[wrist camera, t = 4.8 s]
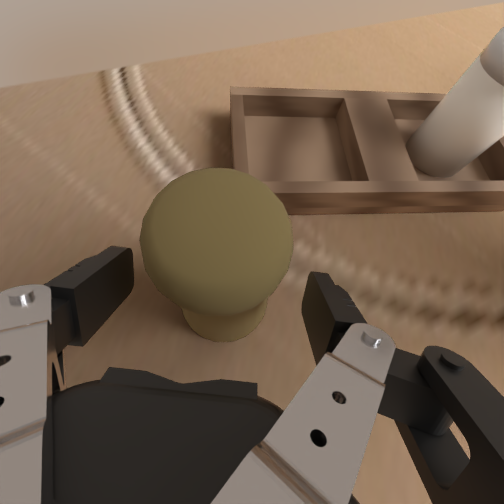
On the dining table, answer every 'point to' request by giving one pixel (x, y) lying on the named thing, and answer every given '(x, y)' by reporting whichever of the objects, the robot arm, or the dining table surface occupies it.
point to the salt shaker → (464, 117)
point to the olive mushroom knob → (217, 249)
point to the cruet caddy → (352, 153)
